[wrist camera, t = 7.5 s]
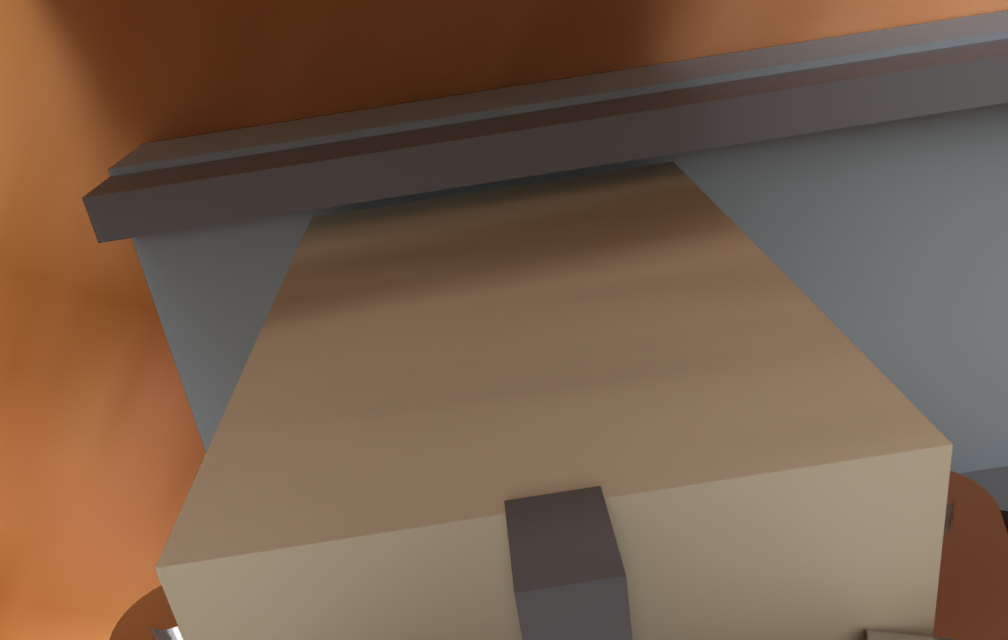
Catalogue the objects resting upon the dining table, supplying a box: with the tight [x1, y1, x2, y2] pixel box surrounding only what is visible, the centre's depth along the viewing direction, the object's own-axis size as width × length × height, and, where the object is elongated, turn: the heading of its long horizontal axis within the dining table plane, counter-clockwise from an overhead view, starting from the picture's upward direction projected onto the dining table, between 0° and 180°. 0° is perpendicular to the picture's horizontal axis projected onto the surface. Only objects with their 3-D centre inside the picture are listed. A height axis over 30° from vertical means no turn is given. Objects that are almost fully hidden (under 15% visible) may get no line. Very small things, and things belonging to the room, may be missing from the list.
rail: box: [82, 10, 1008, 511], centre depth 13 cm, size 8×19×2 cm, turn 98°
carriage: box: [155, 162, 953, 640], centre depth 9 cm, size 6×5×8 cm
